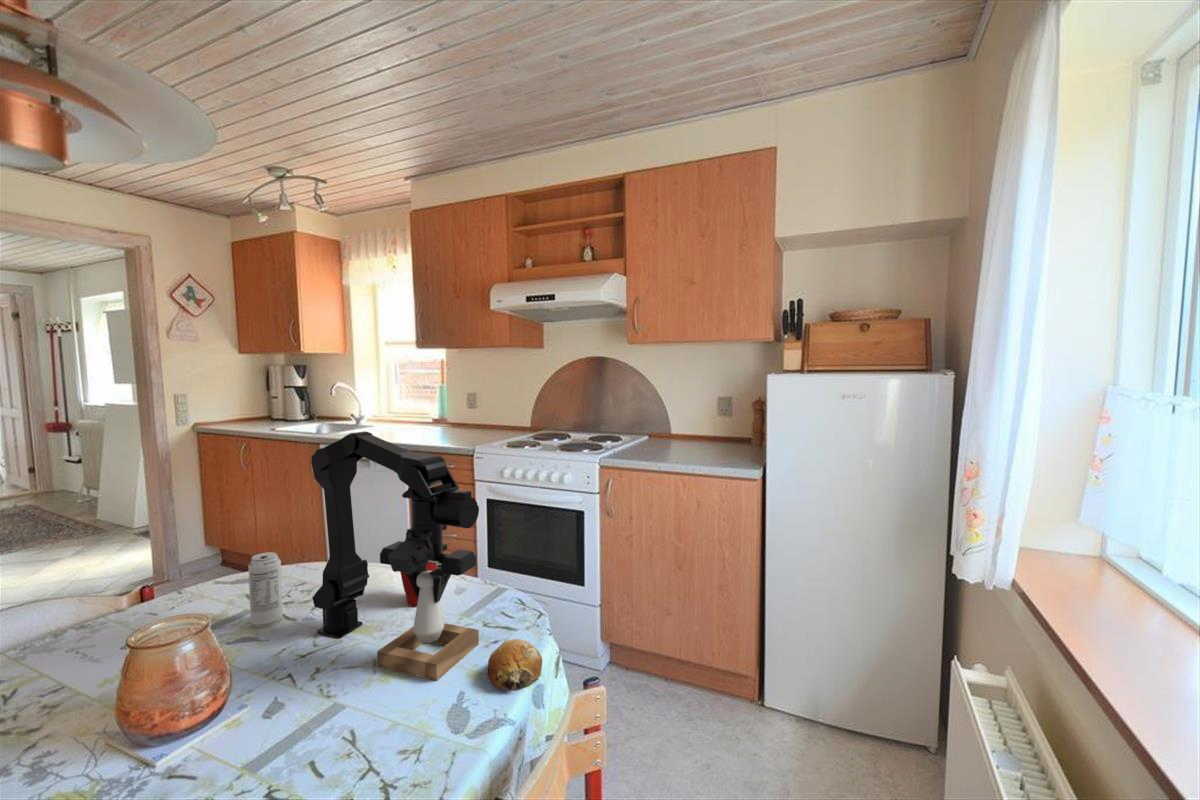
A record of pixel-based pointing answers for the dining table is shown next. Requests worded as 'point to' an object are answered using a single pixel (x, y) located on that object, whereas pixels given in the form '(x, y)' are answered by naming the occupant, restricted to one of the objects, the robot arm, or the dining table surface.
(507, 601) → the dining table surface
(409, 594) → the plastic cup
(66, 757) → the dining table surface
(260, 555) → the energy drink can
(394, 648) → the frame
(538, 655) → the bread roll
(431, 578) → the salt shaker
